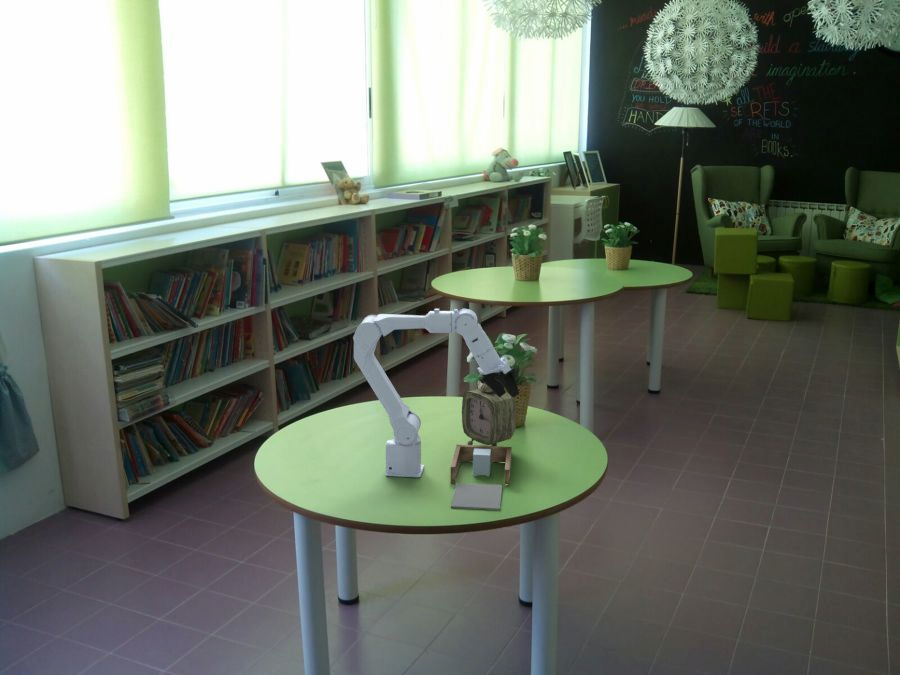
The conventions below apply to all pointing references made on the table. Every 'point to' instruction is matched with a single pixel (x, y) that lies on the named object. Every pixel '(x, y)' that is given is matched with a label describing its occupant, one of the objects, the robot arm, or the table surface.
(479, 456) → the block
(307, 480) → the table surface
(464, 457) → the brown u-shaped frame
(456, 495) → the pad
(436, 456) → the table surface
